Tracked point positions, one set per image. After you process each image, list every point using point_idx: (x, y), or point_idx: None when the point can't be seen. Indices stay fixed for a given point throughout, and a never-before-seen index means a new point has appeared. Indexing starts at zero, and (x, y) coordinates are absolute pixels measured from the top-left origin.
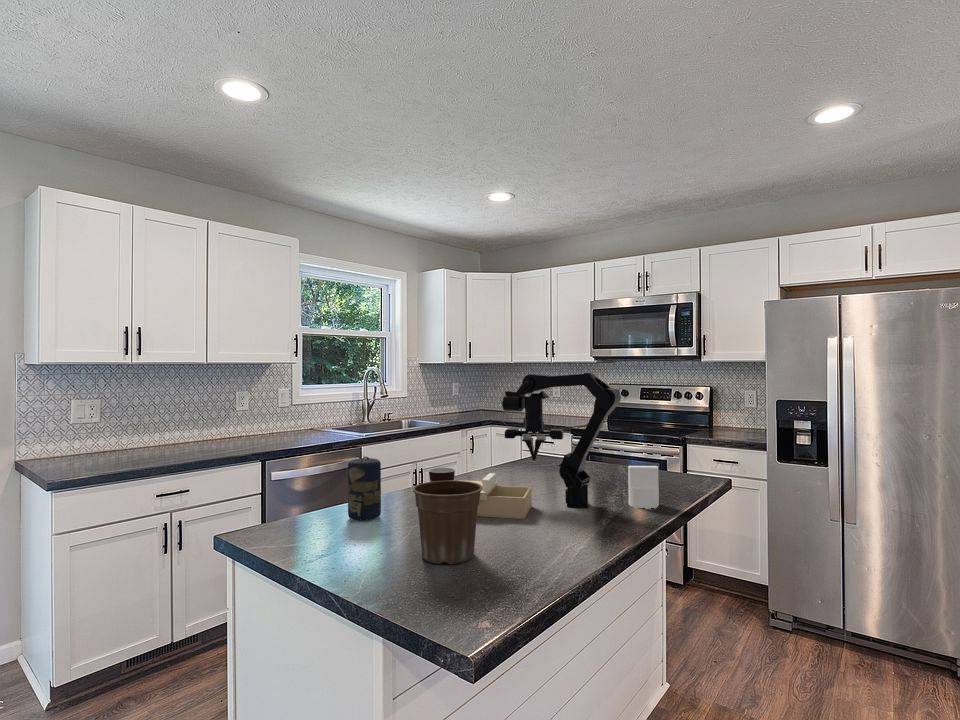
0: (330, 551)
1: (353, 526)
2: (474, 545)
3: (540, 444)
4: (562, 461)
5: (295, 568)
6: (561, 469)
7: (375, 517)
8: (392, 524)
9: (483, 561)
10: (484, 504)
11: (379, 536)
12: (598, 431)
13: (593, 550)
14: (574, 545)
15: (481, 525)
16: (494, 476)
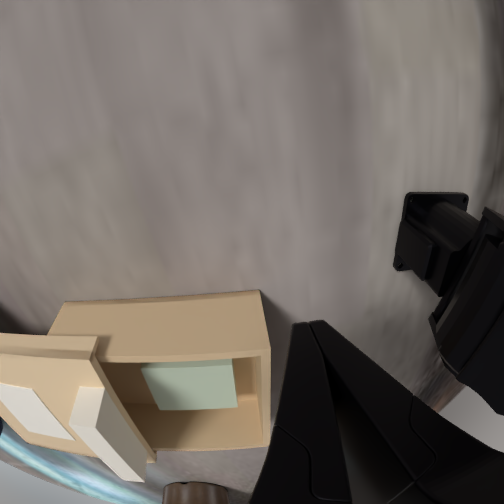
0: (71, 479)
1: (8, 433)
2: (228, 499)
3: (472, 456)
4: (482, 396)
5: (86, 494)
6: (455, 366)
7: (1, 422)
8: None
9: (242, 490)
10: (147, 429)
11: (69, 461)
12: None
13: None
14: None
15: None
16: (108, 434)
